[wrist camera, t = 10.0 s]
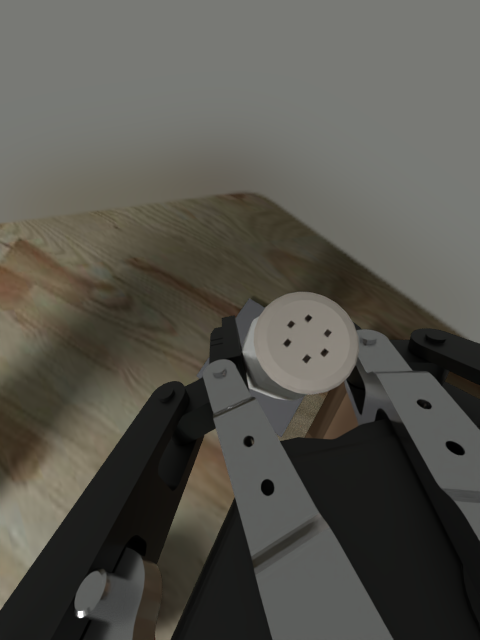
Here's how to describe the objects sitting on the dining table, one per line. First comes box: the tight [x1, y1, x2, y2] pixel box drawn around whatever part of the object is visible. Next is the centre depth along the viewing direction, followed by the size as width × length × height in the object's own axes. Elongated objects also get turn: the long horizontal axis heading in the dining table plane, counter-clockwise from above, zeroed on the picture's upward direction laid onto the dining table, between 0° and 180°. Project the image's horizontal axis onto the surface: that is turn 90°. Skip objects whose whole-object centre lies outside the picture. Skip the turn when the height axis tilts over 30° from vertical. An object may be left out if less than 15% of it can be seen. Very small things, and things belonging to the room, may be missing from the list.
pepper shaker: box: [241, 292, 359, 401], centre depth 11 cm, size 5×5×11 cm
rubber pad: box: [197, 298, 304, 437], centre depth 21 cm, size 10×10×1 cm
